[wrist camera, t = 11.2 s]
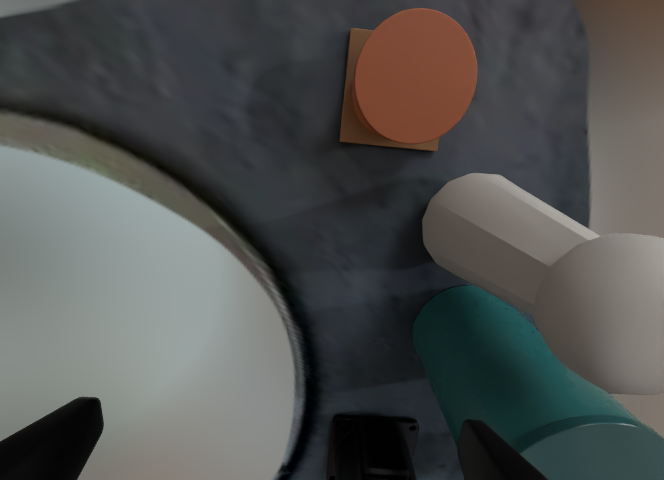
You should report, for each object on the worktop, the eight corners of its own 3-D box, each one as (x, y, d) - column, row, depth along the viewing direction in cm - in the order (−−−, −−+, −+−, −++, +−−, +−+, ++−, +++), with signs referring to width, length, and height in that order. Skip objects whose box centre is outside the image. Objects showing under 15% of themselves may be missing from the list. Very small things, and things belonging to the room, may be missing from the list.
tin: (499, 376, 24) (638, 566, 13) (402, 370, 23) (466, 559, 13) (526, 287, 22) (717, 429, 11) (420, 279, 21) (514, 417, 11)
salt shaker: (504, 253, 21) (769, 424, 8) (415, 266, 21) (547, 452, 8) (505, 161, 19) (845, 203, 7) (408, 176, 19) (563, 244, 7)
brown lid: (434, 147, 18) (462, 149, 14) (343, 138, 18) (348, 138, 14) (453, 43, 17) (491, 15, 13) (353, 32, 16) (362, 0, 13)
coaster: (434, 151, 19) (437, 151, 18) (339, 141, 18) (339, 141, 18) (454, 42, 17) (457, 40, 17) (350, 30, 17) (350, 27, 16)
